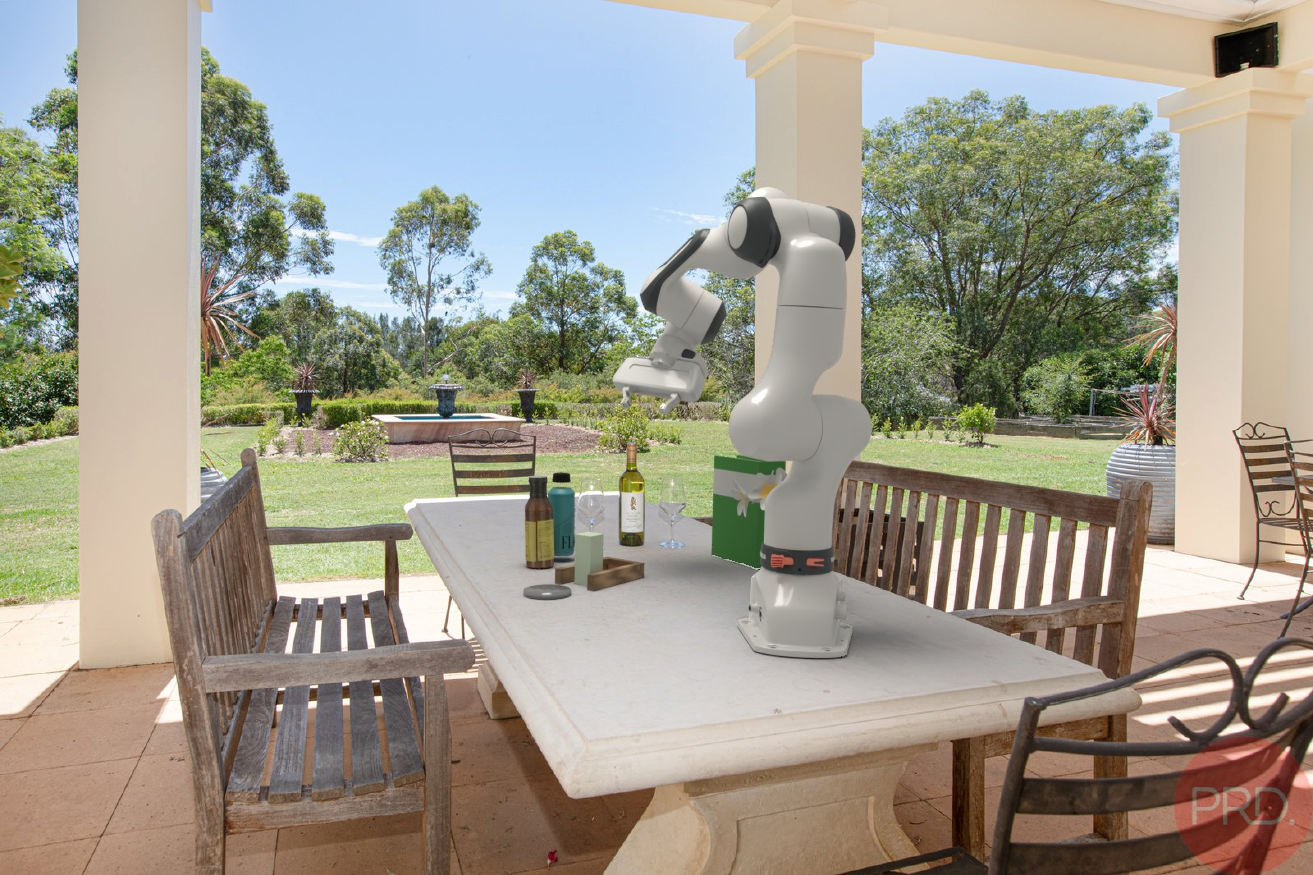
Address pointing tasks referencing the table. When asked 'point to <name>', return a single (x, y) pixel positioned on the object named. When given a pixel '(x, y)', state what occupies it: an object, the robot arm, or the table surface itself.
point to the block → (588, 555)
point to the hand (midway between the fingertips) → (643, 409)
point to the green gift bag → (728, 528)
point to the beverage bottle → (563, 515)
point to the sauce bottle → (539, 525)
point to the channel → (604, 573)
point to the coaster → (547, 592)
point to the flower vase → (757, 490)
